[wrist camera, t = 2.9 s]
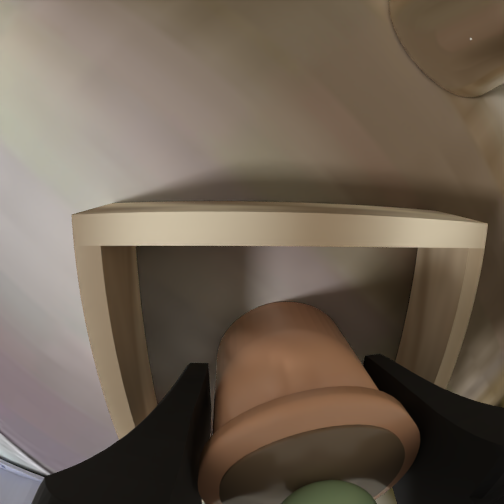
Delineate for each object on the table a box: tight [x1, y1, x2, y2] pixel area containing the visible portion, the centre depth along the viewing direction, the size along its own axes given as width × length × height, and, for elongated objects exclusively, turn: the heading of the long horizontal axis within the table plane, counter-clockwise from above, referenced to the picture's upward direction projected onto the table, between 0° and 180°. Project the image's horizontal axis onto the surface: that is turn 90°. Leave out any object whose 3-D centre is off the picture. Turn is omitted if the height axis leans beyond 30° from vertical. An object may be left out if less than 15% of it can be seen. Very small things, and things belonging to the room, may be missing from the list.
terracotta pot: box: [198, 302, 420, 504], centre depth 7 cm, size 6×6×8 cm
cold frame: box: [72, 201, 488, 502], centre depth 10 cm, size 12×12×3 cm
